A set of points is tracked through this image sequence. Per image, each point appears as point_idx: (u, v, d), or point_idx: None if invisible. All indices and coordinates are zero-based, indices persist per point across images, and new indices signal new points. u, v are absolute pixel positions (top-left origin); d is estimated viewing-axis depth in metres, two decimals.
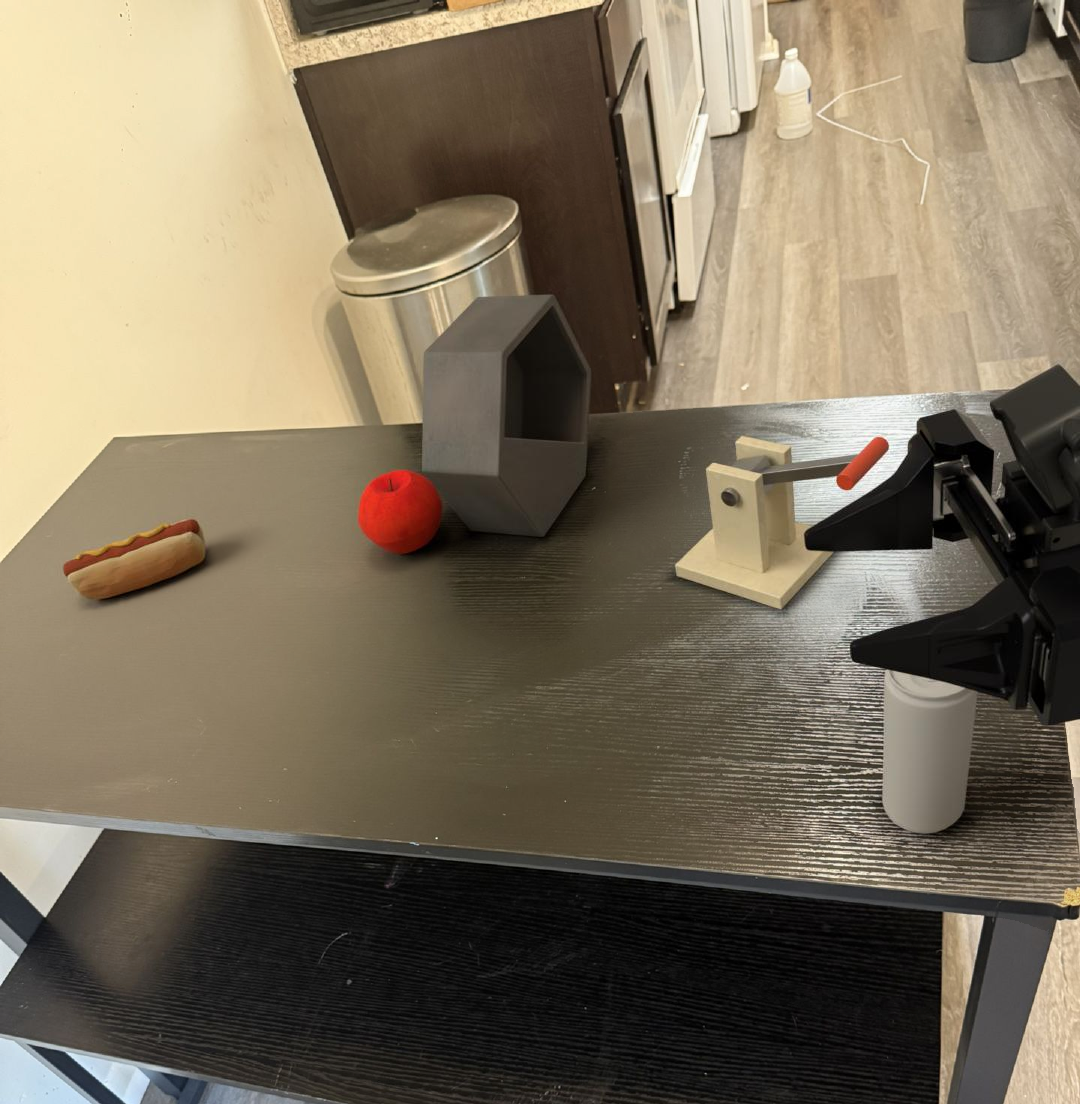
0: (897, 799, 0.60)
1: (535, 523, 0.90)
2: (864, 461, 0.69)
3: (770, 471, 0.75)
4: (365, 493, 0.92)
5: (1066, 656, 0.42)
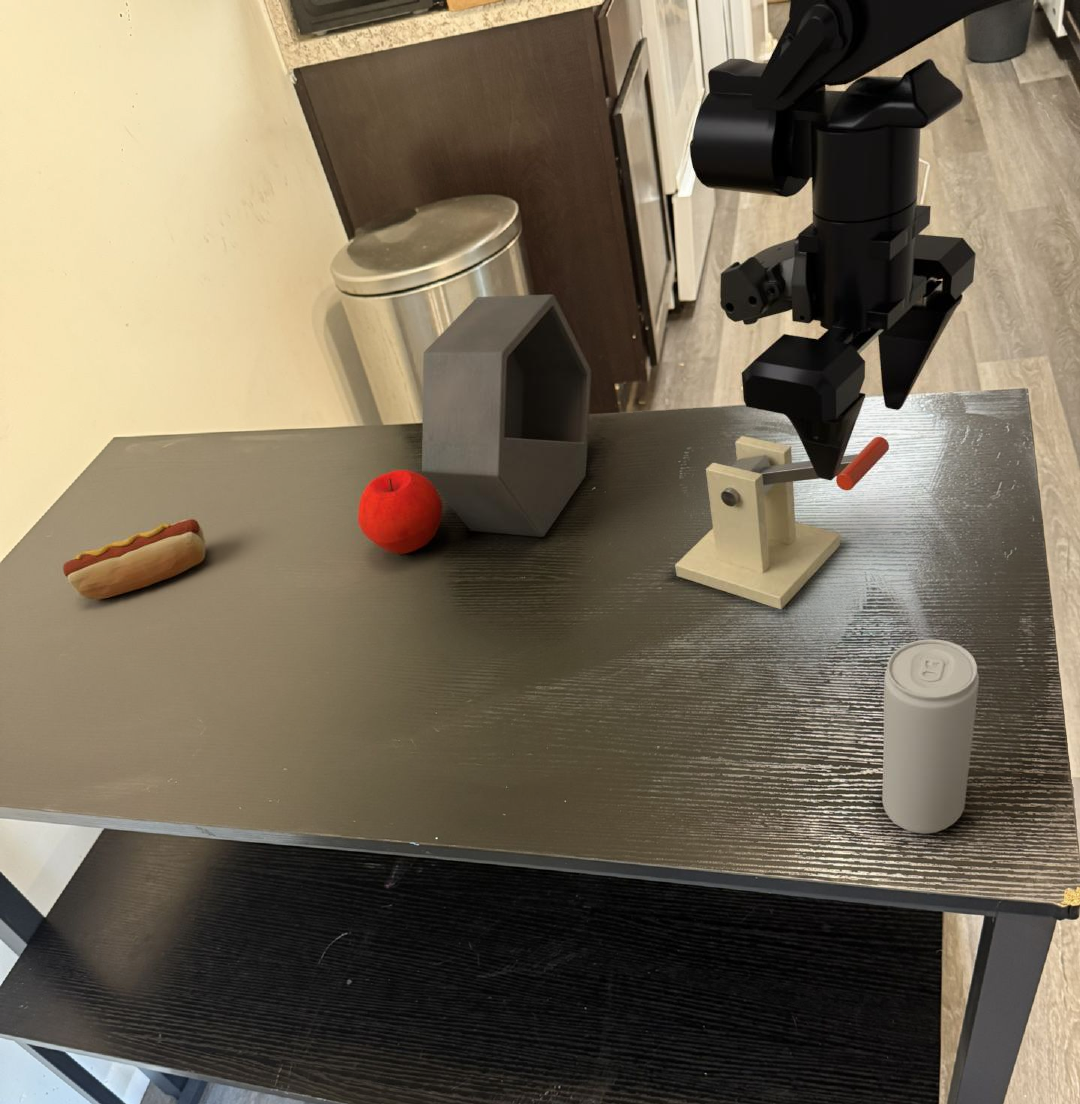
0: (897, 799, 0.60)
1: (535, 523, 0.90)
2: (864, 461, 0.69)
3: (770, 471, 0.75)
4: (365, 493, 0.92)
5: (759, 403, 0.60)
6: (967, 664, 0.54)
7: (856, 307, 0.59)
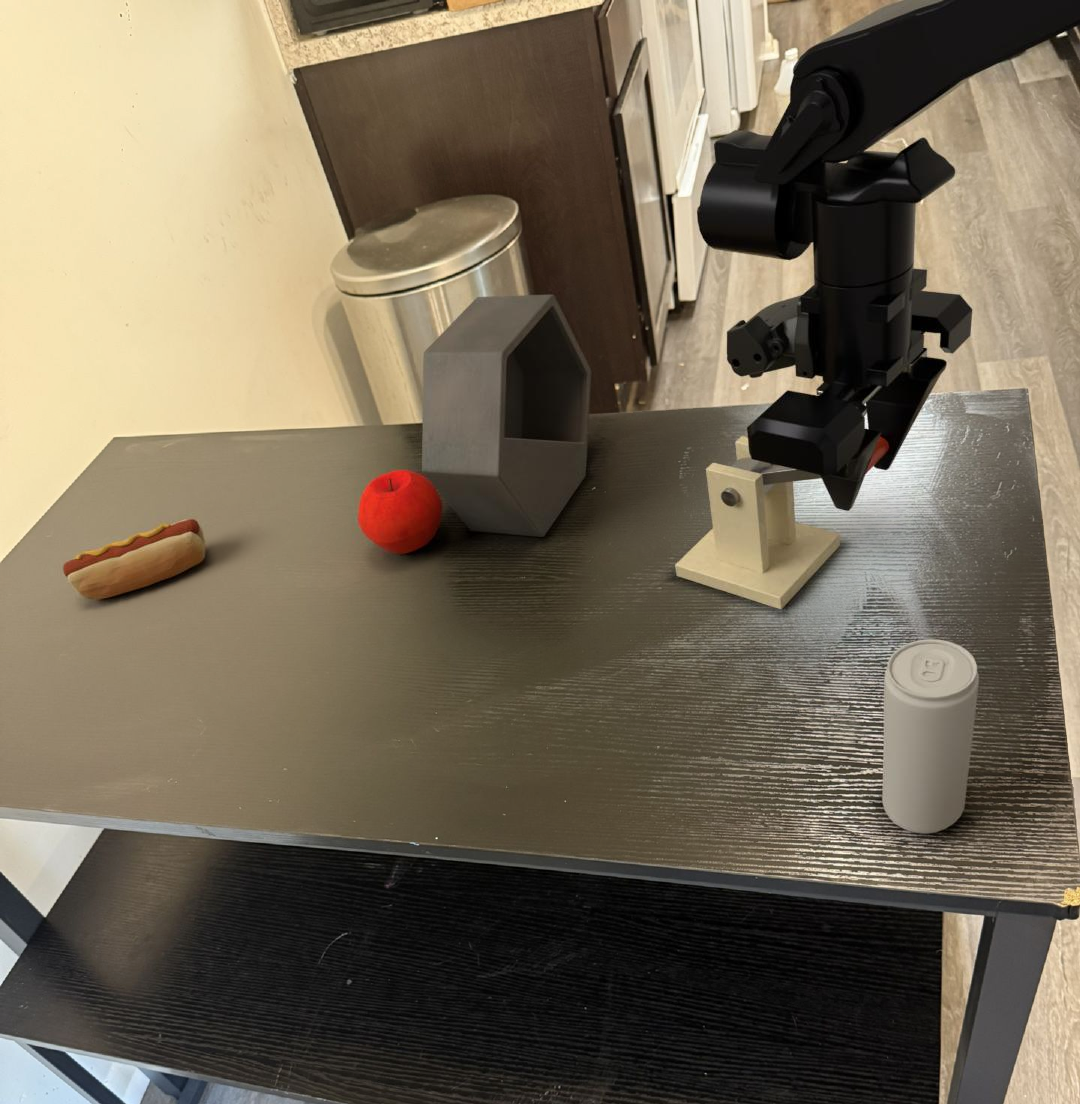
0: (897, 799, 0.60)
1: (535, 523, 0.90)
2: None
3: (770, 471, 0.75)
4: (365, 493, 0.92)
5: (763, 457, 0.63)
6: (967, 664, 0.54)
7: (856, 365, 0.62)
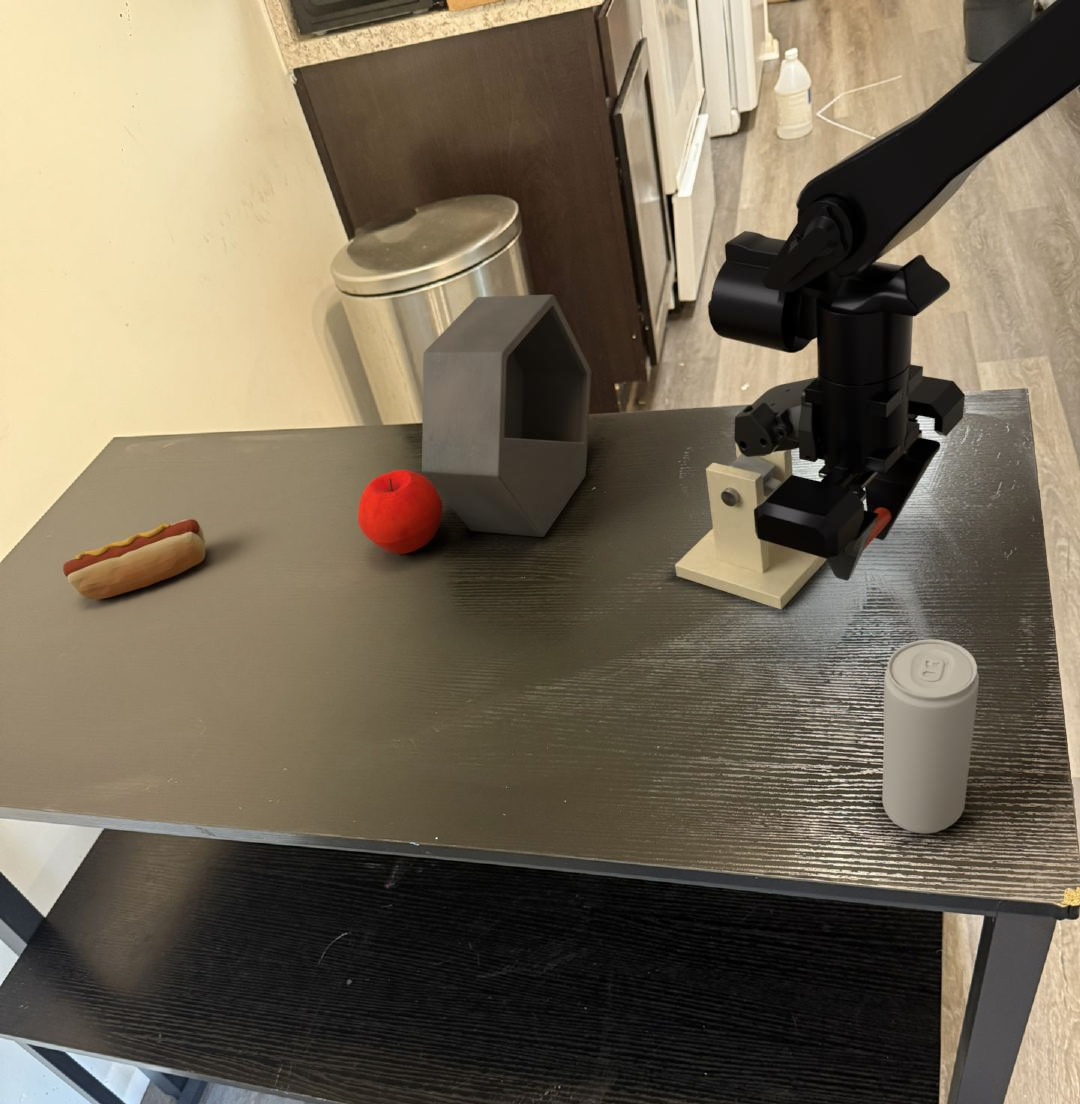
0: (897, 799, 0.60)
1: (535, 523, 0.90)
2: (871, 536, 0.73)
3: None
4: (365, 493, 0.92)
5: (769, 537, 0.67)
6: (967, 664, 0.54)
7: (856, 453, 0.66)
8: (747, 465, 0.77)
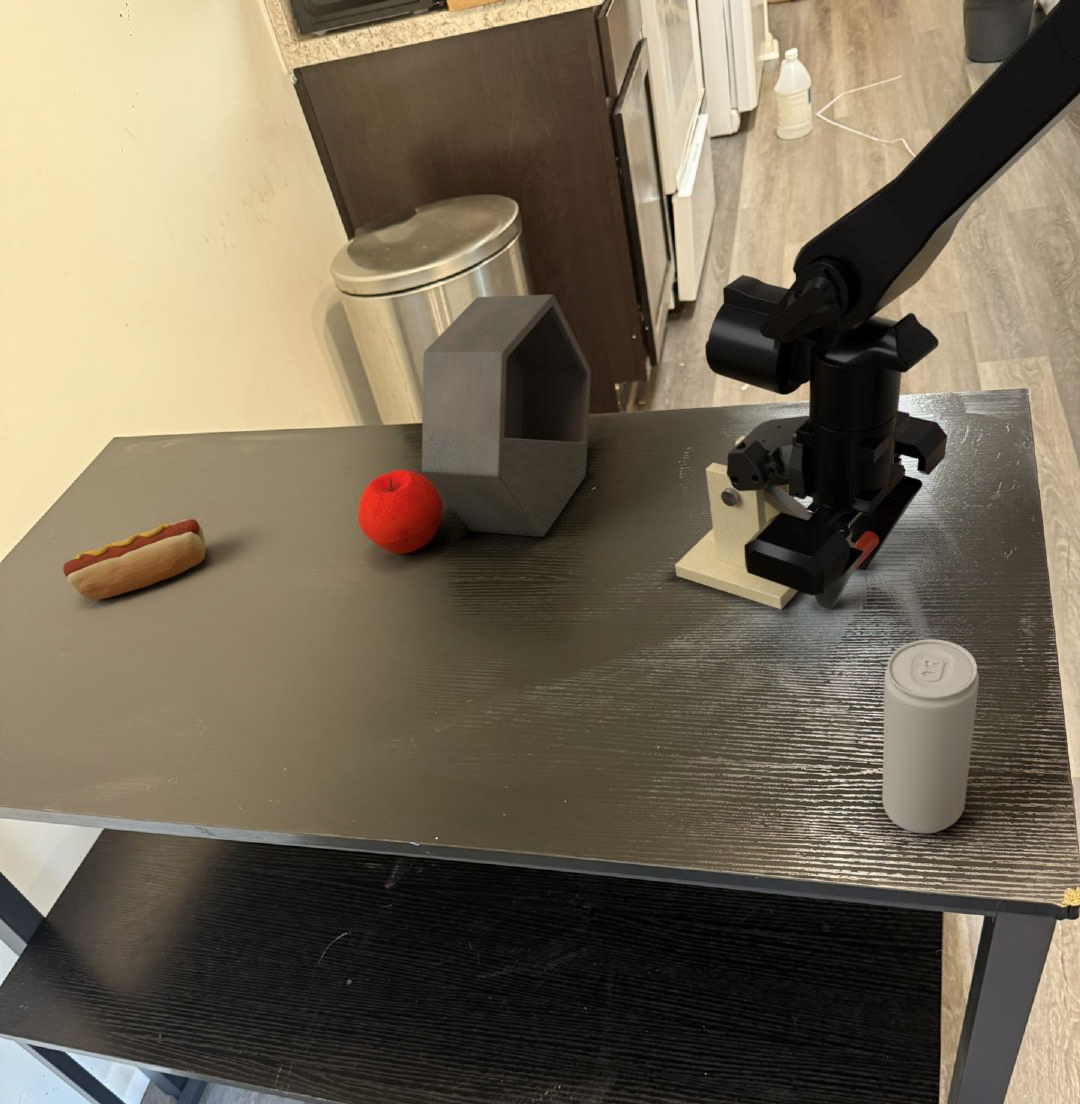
0: (897, 799, 0.60)
1: (535, 523, 0.90)
2: (859, 561, 0.75)
3: (775, 495, 0.76)
4: (365, 493, 0.92)
5: (758, 572, 0.70)
6: (967, 664, 0.54)
7: (844, 493, 0.69)
8: None
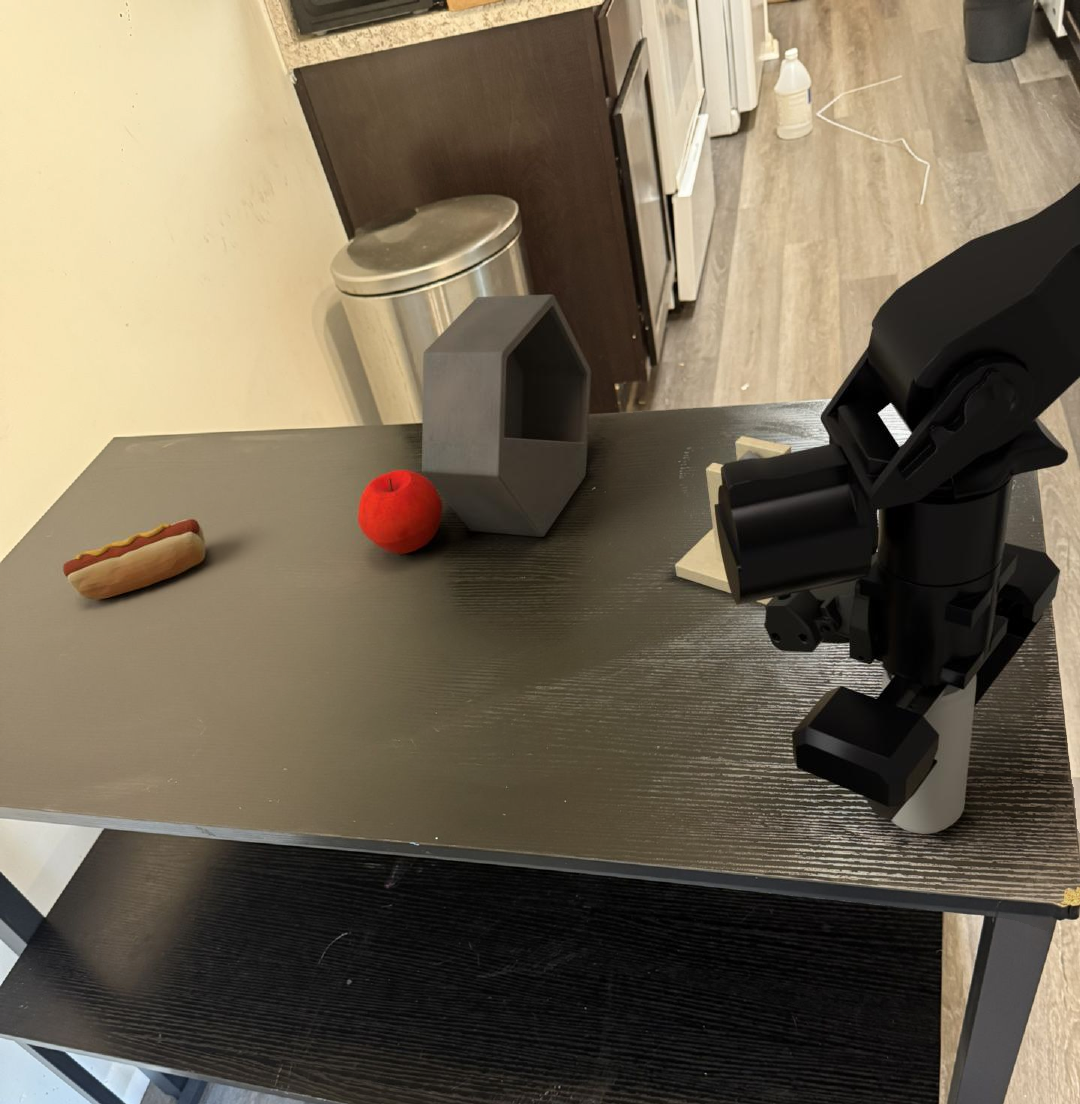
0: None
1: (535, 523, 0.90)
2: None
3: None
4: (365, 493, 0.92)
5: (812, 769, 0.51)
6: None
7: (928, 662, 0.50)
8: None
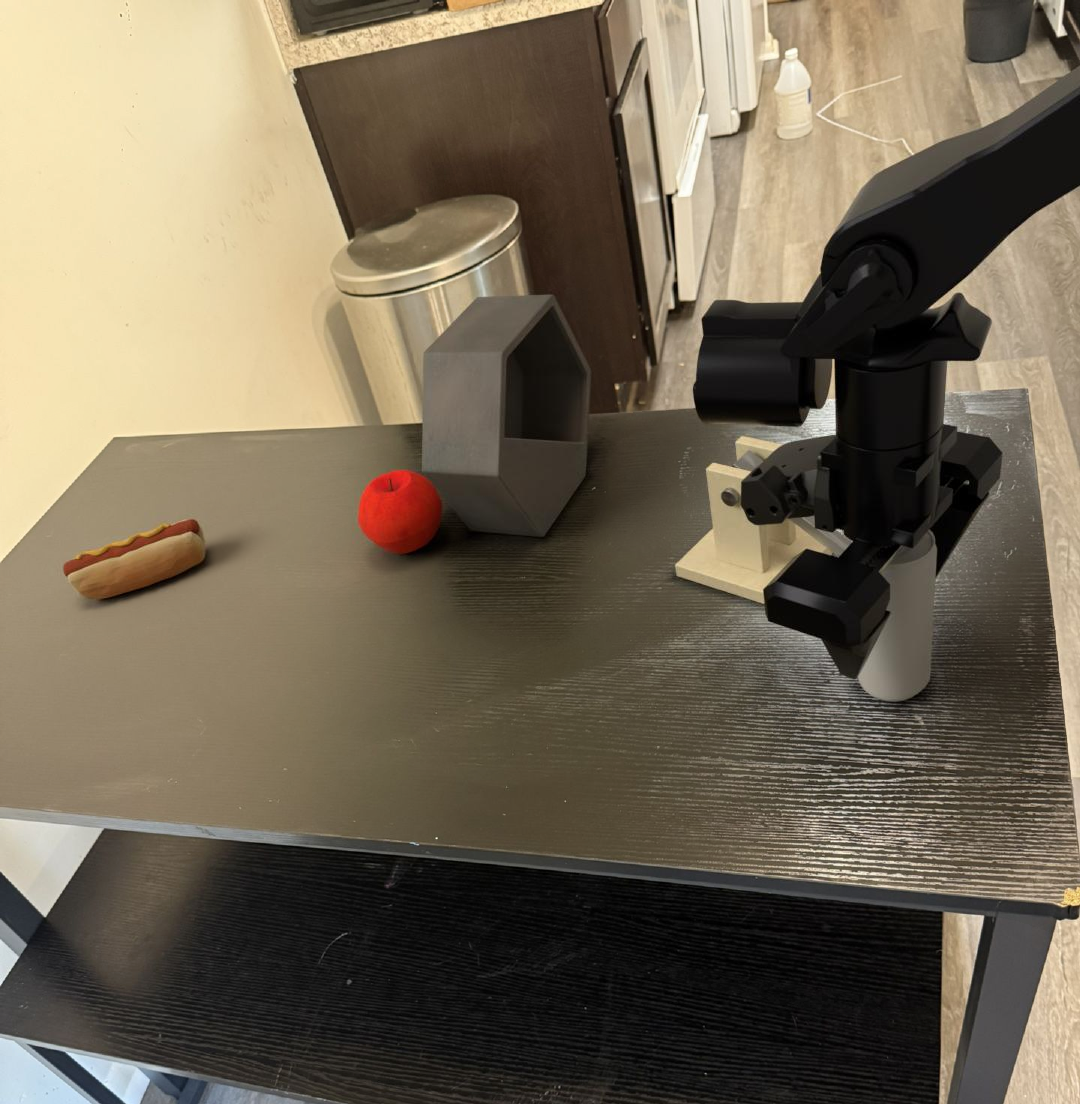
0: (869, 668, 0.68)
1: (535, 523, 0.90)
2: None
3: None
4: (365, 493, 0.92)
5: (781, 621, 0.59)
6: (927, 538, 0.62)
7: (881, 524, 0.58)
8: (751, 466, 0.76)
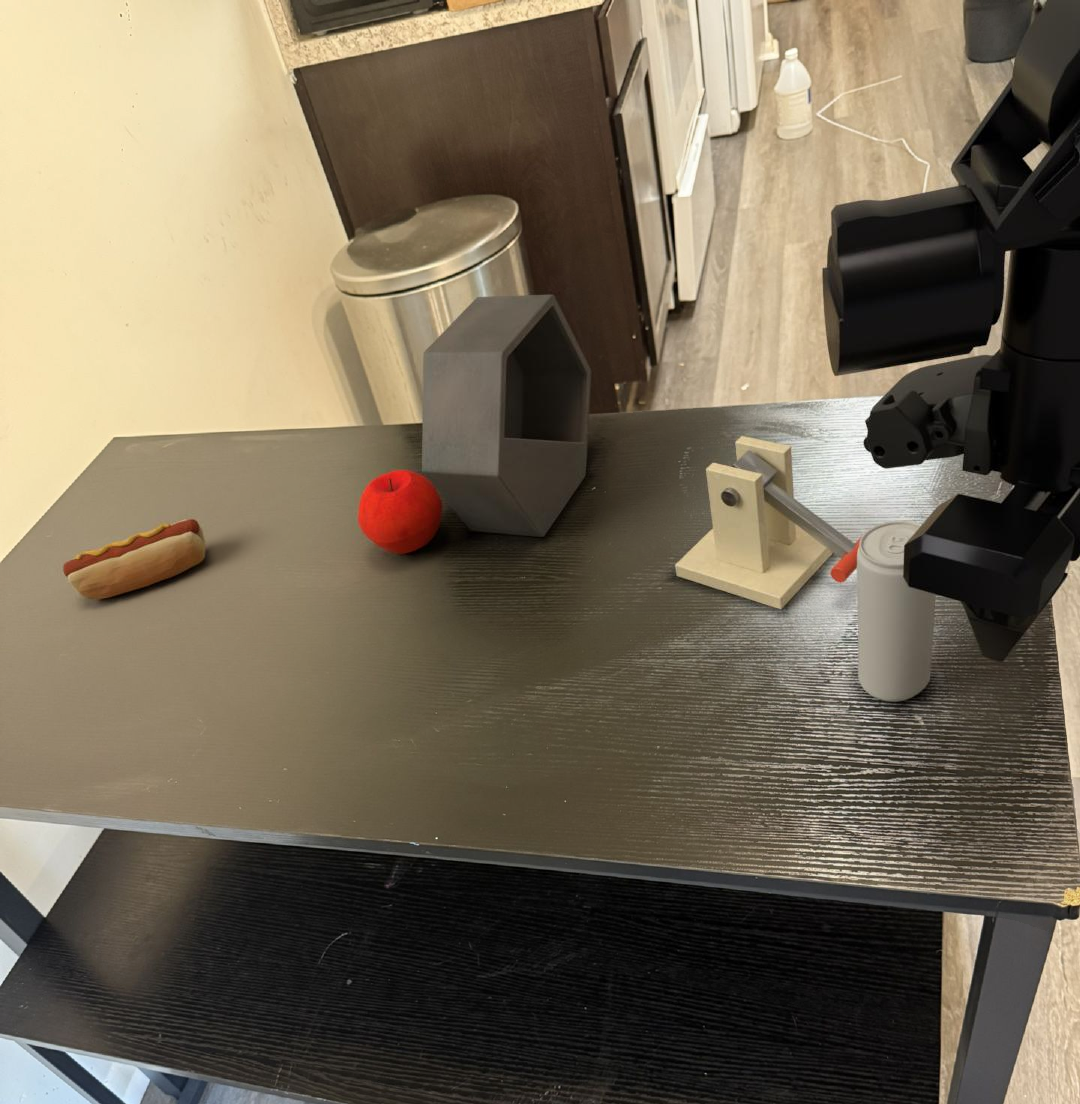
0: (870, 668, 0.68)
1: (535, 523, 0.90)
2: None
3: (775, 495, 0.76)
4: (365, 493, 0.92)
5: (927, 585, 0.46)
6: None
7: (1057, 461, 0.45)
8: (751, 466, 0.76)
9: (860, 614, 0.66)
